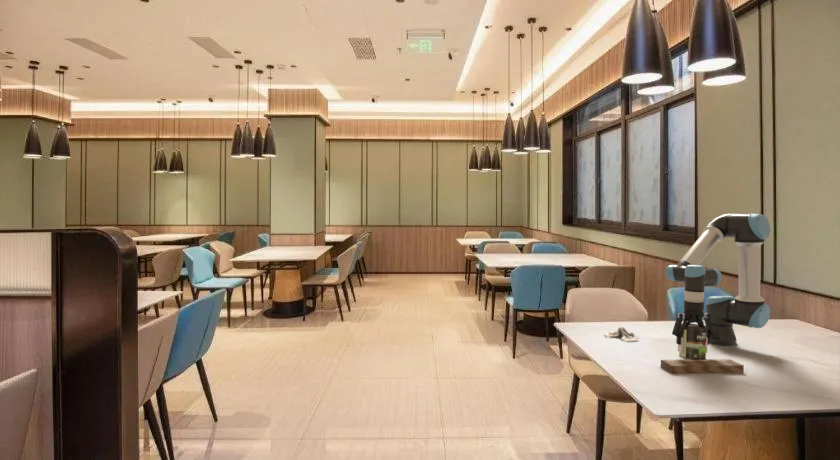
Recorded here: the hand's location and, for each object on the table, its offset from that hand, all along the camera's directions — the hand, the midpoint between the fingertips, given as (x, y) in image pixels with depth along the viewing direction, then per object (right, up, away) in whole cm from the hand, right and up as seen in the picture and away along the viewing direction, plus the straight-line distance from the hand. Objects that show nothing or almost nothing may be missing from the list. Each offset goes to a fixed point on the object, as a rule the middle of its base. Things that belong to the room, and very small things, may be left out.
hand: (692, 351), depth 208 cm
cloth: (-12, -4, +43) cm, 44 cm away
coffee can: (0, -3, 0) cm, 3 cm away
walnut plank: (-2, -5, -10) cm, 12 cm away
